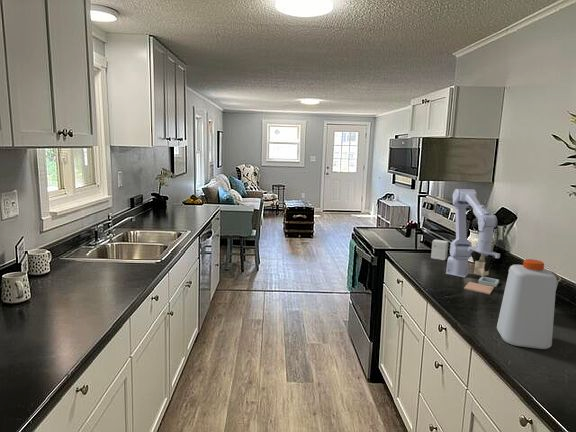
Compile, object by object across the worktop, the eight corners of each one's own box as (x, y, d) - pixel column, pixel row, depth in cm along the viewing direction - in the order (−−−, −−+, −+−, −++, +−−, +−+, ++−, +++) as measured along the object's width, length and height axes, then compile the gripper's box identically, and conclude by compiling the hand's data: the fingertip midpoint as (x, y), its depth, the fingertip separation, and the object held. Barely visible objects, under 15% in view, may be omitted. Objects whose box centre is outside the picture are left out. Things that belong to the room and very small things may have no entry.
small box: (446, 258, 245) (448, 241, 244) (444, 260, 241) (446, 242, 239) (432, 256, 250) (434, 239, 248) (430, 258, 245) (432, 240, 243)
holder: (478, 283, 203) (478, 280, 203) (481, 279, 209) (481, 276, 209) (496, 286, 198) (496, 283, 198) (498, 282, 205) (499, 279, 204)
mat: (463, 288, 194) (464, 287, 194) (469, 282, 203) (469, 281, 203) (489, 294, 188) (489, 293, 188) (494, 288, 197) (494, 286, 196)
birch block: (473, 273, 195) (475, 261, 194) (479, 272, 197) (480, 259, 196) (482, 276, 191) (484, 263, 190) (488, 274, 193) (489, 262, 192)
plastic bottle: (538, 332, 151) (550, 257, 146) (555, 352, 136) (568, 270, 131) (493, 326, 154) (503, 253, 149) (504, 345, 140) (516, 265, 135)
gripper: (505, 243, 187) (501, 272, 190) (475, 236, 199) (472, 264, 202) (496, 245, 184) (492, 274, 186) (466, 238, 195) (463, 266, 198)
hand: (481, 269), depth 194 cm, fingers closed on birch block, 4 cm apart
